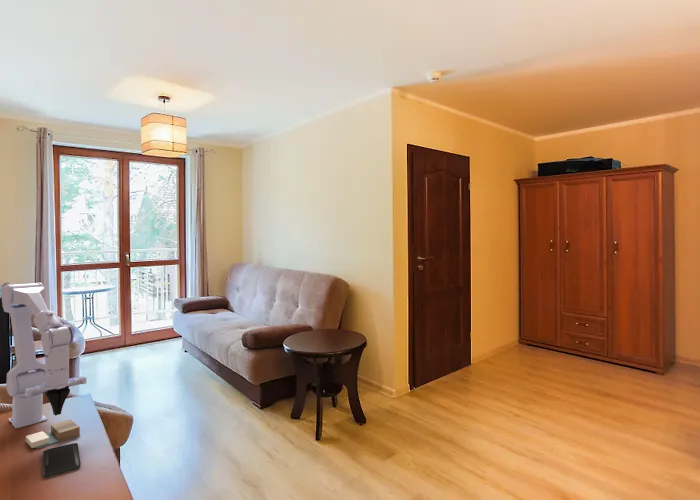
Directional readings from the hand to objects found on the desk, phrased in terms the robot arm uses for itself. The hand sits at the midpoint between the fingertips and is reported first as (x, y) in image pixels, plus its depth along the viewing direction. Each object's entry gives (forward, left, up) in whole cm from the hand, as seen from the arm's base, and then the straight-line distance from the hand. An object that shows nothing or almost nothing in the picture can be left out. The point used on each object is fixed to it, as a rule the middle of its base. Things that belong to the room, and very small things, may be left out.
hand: (57, 413), depth 118 cm
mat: (0, -3, -7) cm, 8 cm away
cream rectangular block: (0, -5, -5) cm, 7 cm away
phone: (+16, -3, -7) cm, 18 cm away
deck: (0, +2, -7) cm, 7 cm away
